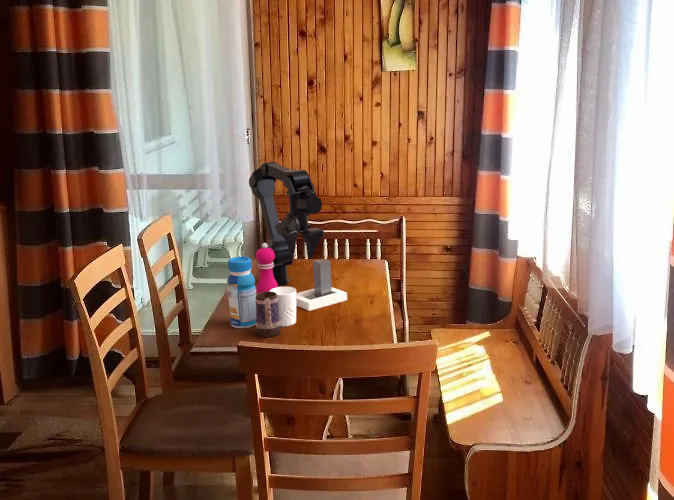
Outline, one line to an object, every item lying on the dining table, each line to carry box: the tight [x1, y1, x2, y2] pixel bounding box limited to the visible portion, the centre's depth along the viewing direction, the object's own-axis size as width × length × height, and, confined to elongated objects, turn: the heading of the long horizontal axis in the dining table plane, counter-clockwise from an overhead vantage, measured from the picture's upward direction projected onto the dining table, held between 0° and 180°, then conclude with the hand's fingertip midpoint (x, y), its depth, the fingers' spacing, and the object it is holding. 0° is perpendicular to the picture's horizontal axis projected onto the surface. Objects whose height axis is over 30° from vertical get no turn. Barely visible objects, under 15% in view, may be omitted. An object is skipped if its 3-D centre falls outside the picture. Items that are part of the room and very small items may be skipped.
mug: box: [255, 291, 282, 338], centre depth 211 cm, size 10×7×12 cm
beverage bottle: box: [226, 256, 257, 329], centre depth 219 cm, size 8×8×20 cm
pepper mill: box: [255, 242, 279, 294], centre depth 237 cm, size 7×7×20 cm
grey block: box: [304, 258, 332, 300], centre depth 238 cm, size 4×8×13 cm, turn 127°
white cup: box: [270, 286, 297, 327], centre depth 220 cm, size 8×8×10 cm
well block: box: [296, 287, 348, 312], centre depth 239 cm, size 11×15×2 cm
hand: (301, 256), depth 244 cm, fingers open, 9 cm apart
